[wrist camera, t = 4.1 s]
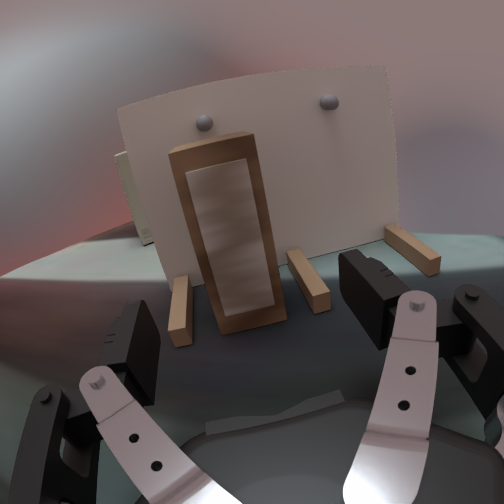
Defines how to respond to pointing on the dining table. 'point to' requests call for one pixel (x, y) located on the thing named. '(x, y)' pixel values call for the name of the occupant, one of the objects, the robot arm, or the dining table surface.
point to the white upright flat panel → (279, 170)
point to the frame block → (230, 229)
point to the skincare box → (133, 197)
